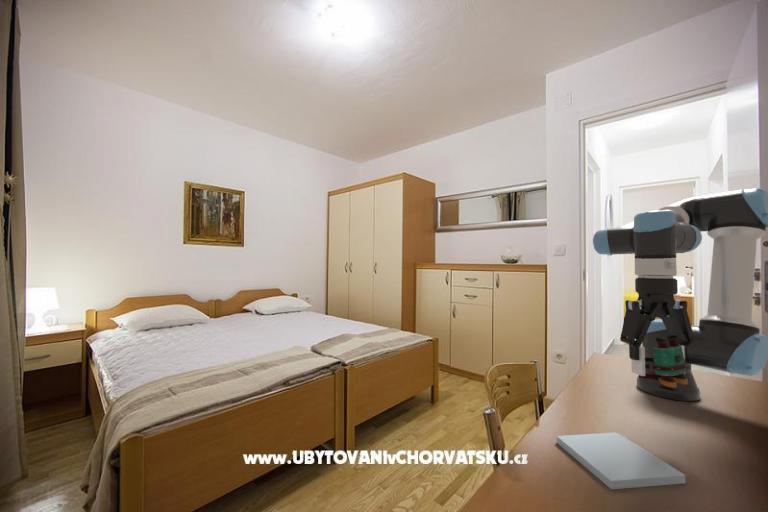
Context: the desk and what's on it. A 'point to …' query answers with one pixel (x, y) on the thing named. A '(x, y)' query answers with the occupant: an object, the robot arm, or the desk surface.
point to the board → (619, 461)
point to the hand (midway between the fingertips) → (658, 373)
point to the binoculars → (667, 363)
